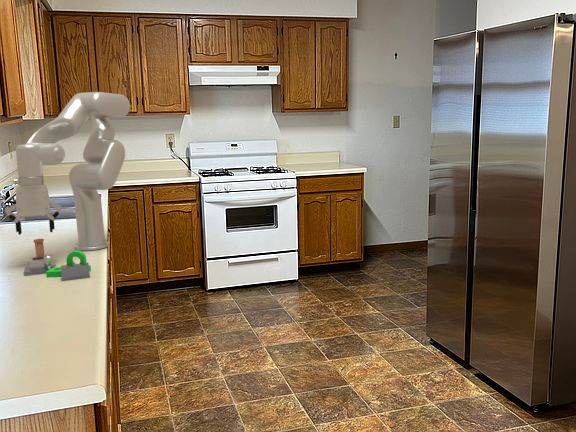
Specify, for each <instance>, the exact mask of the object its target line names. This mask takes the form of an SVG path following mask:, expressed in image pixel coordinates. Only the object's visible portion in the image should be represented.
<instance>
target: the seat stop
mask: <svg viewBox="0 0 576 432" xmlns="http://www.w3.org/2000/svg"><path fill="white" fill-rule="evenodd" d="M79 263H80V262H79ZM79 263H76V264H71V265H67V264H65V265H60V267H61V275H62V277H61V281H62V282H64V281H71V280H81V279H87V278H90V277H91V276H90V275H91V274H90V272H89V265H90V263H89V262H87V263H80V264H79Z"/></svg>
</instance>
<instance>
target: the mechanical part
mask: <svg viewBox="0 0 576 432" xmlns="http://www.w3.org/2000/svg"><path fill="white" fill-rule="evenodd" d="M86 256H87V255H85V253H84V252H83V251H81V250H76V249H75V250H73V251H71V252H70V253H69V254H67V256H66V260H65V261H66V265H71V264H77V263H75V262H74V258H78V259H79V263H78V264H80V263H88V262H87V257H86ZM91 271H92V267H91V264H89V273H90V272H91ZM45 275H46V276H45V277H46V278H62V275H61V266H55V267H54V268H51V269H49V270H48V271H47V272H46V273H45Z"/></svg>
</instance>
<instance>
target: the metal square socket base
mask: <svg viewBox="0 0 576 432" xmlns="http://www.w3.org/2000/svg"><path fill="white" fill-rule="evenodd" d="M53 260H54V259H53V255H52V254H47V255H45V256H40V257H36V256H33V257H32V256H31V257H30V258H29V261H28V264H25V267H24V269H23V277H25V276H26V277H28V276H34V275H35V276H36V275H42V274H45V275H46V272H47V271H48V270H49V269H51V268H54V267H56V261H53Z"/></svg>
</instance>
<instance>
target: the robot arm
mask: <svg viewBox="0 0 576 432" xmlns="http://www.w3.org/2000/svg"><path fill="white" fill-rule="evenodd" d="M130 110H131V103H130V100H129V99H128V98H127V97H126V96H125V95H124V94H120V93H111V92H102V91H90V92H89V91H86V92H79V93H75V94H74V95H73V96H72V98H71V99H70V100H69V102H67V104H66V105H65V107H63V109H62V111H60V113H59V115H58V116H57V117H56V118H55V119H53V120H52V121H49V122H48V123H47V124H45V125H43V126H42V127H40V128H39V129H37V130H36V131H35V132H34V133H33V134H32V135H31V136H30V138H29V139H28V140H27V141H26V143H25V144H17V146H16V148H15V153H16V155H15V156H16V165H17V176H18V177H17V178H14V179H13V183H14V184H17V185H18V186H16V191H15V204H13V205H12V206H9V207H7V208H6V209H4V212H5V214H6V215H7V216H8V218H9V219H10V220H11V221H13V222H14V224H15V232H16V233H18V235H19V236H20V235H22V233H23V231H22V222H21V218H30V217H31V218H33V217H44V216H46V217H48V218H49V221H48V222H49V223H48V224H49V233H53V231H54V230H55V219H56V218H57V217H58V216H59V215H60V213H61V211H62V205H59V204H57V203H54V202H52V201H50V195H49V190H48V187H47V185H46V184H45V180H44V170H43V166H55V165H59V164H61V163H62V162H63V161H64V159H65V157H66V152H65V149H64V148H63V147H62V146H61V145H60V144H58V143H57V142H60V141H63V140H66V139H68V138H71V137H73V136H75V135H77V134H78V133H79V132H80V131H81V129H82V128H83V126H84V125H85V123H86V122H87V121H88V119H89V118H91V122H92V129H91V132H90V134H89V137H88V140H87V141H86V143H85V146H84V149H83V151H82V157H83V160H84V162H86V163H79V164H76V165H74V166H73V167H71V169H70V170H69V173H68V180H69V184H70V187H71V190H72V195H73V201H74V210H75V219H76V230H77V241H78V243H77V244H74V249H75V250H79V251H82V252H83V251H95V250H96V251H97V250H103V249H105V248H108V247H110V241H108V240H106V238H105V236H106V235H105V227H104V216H103V205H102V198H101V195H100V194H99V192H98V191H107V190H109V189H112V188H113V187H114V185H115V184H116V182H117V180H118V177H119V175H120V173H121V170H122V167H123V165H124V162H125V159H126V149H125V146H124V144H123V143H122V141H120V140H117V139H115V135H116V131H115V128H114V125H113V124H112V122H111V120H110V119H111V118H123V117H126V116H127V115H128V114H129V112H130ZM51 208H54V209H56V210H55V212H54V213H53V214H52V213H51ZM14 210H16V215H17V216H15V215H13V213H12V211H14Z"/></svg>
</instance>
